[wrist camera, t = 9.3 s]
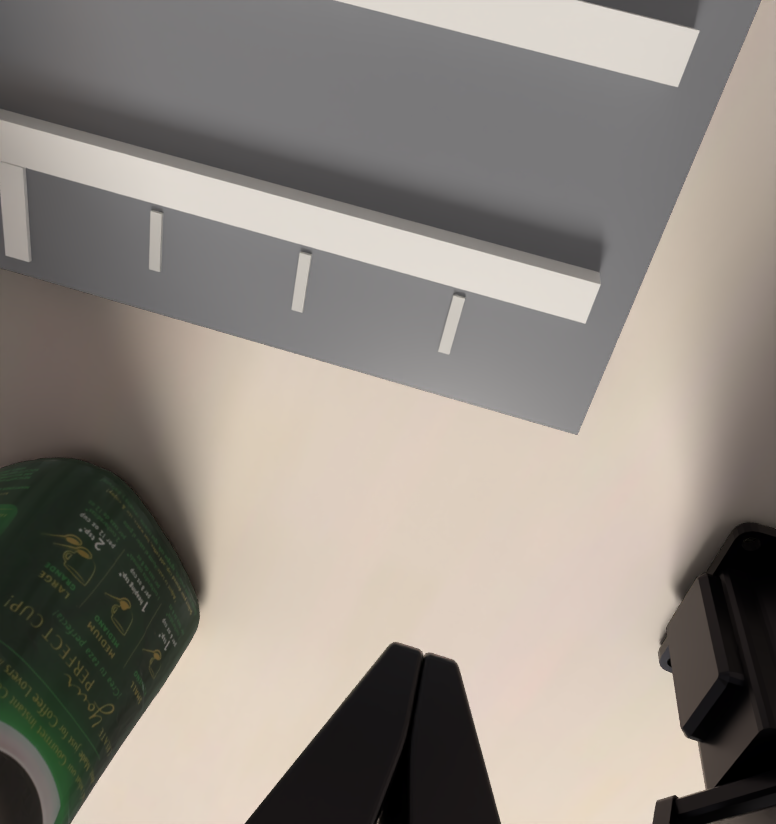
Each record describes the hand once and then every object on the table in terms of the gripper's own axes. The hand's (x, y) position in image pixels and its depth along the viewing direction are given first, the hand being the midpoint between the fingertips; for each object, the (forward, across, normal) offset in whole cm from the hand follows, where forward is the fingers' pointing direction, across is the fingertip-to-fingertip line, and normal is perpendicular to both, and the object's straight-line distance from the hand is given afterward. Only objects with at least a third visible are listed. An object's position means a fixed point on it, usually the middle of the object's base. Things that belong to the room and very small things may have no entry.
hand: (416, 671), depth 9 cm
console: (+13, +8, -4) cm, 16 cm away
